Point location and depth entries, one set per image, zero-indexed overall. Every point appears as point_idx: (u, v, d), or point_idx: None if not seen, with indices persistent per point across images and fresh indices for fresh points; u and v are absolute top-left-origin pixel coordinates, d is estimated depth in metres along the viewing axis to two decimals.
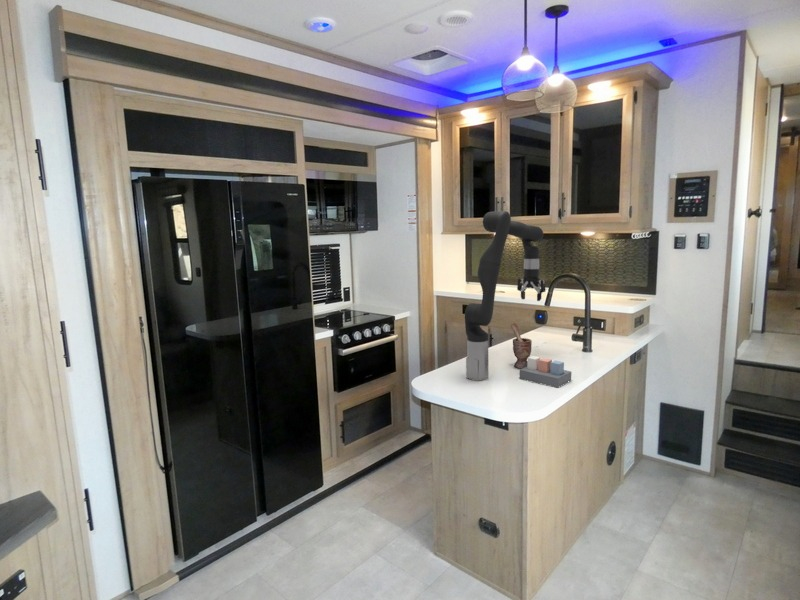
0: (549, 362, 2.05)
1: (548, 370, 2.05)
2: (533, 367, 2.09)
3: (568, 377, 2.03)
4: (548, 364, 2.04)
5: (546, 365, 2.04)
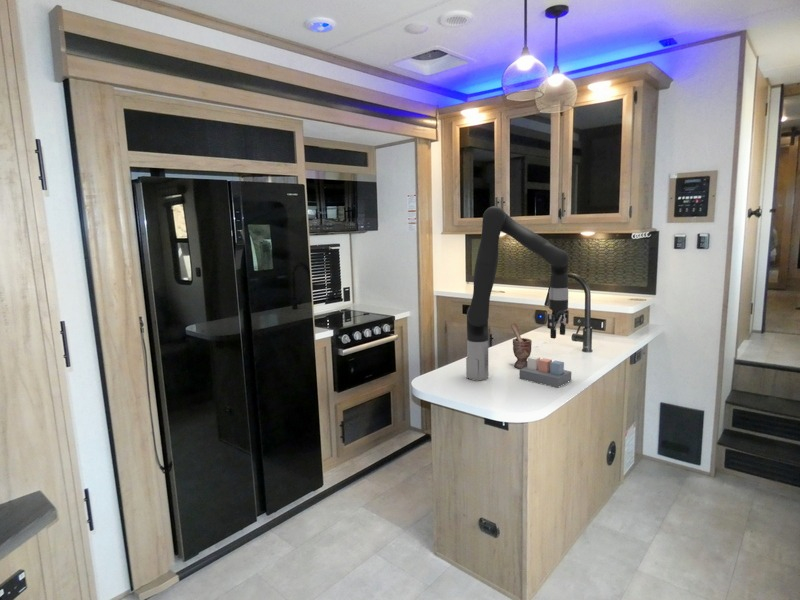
0: (549, 362, 2.05)
1: (548, 370, 2.05)
2: (533, 367, 2.09)
3: (568, 377, 2.03)
4: (548, 364, 2.04)
5: (546, 365, 2.04)
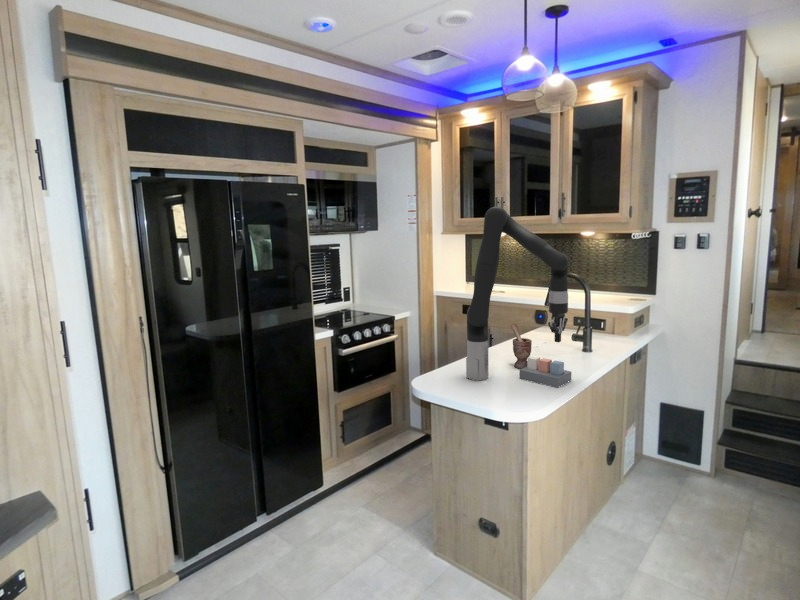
0: (549, 362, 2.05)
1: (548, 370, 2.05)
2: (533, 367, 2.09)
3: (568, 377, 2.03)
4: (548, 364, 2.04)
5: (546, 365, 2.04)
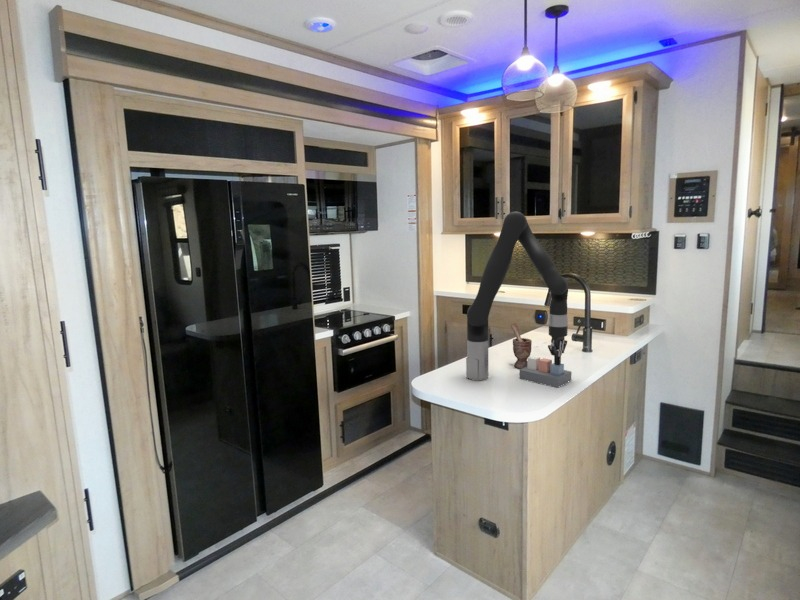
0: (549, 362, 2.05)
1: (548, 370, 2.05)
2: (533, 367, 2.09)
3: (568, 377, 2.03)
4: (548, 364, 2.04)
5: (546, 365, 2.04)
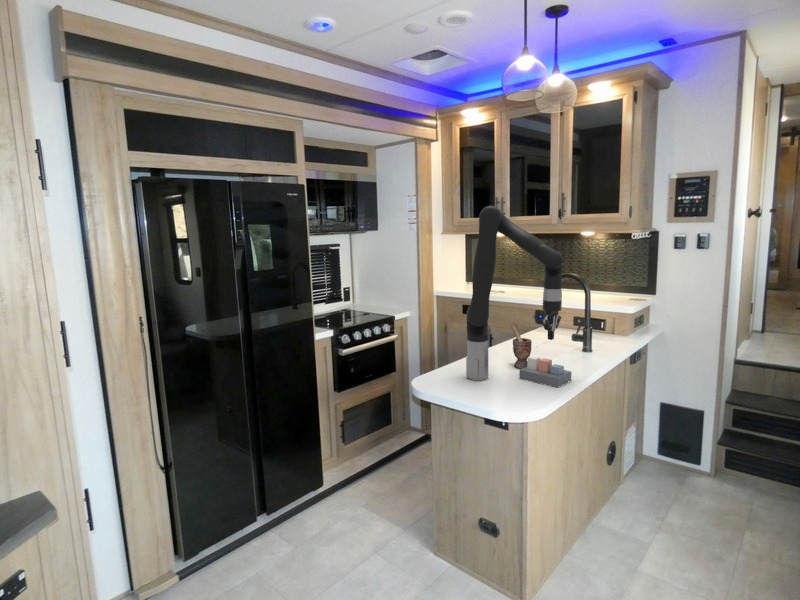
0: (549, 362, 2.05)
1: (548, 370, 2.05)
2: (533, 367, 2.09)
3: (568, 377, 2.03)
4: (548, 364, 2.04)
5: (546, 365, 2.04)
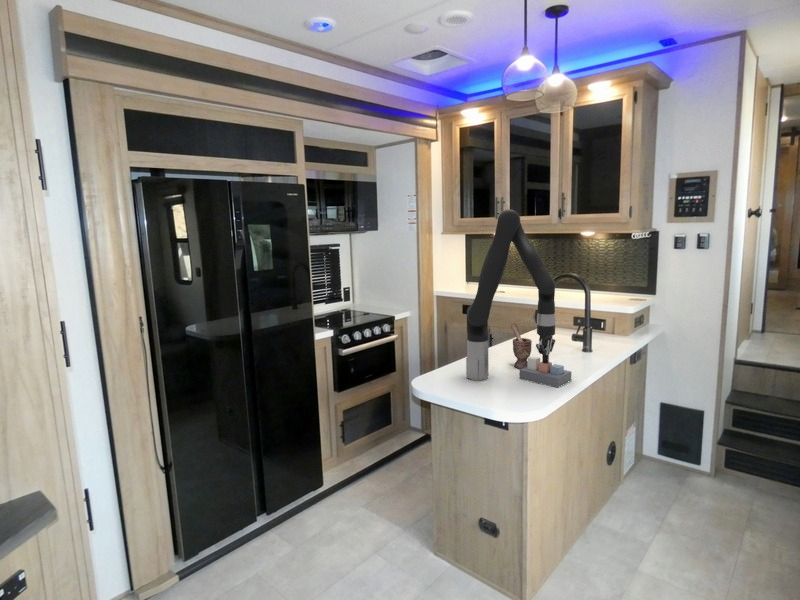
0: (549, 365, 2.05)
1: None
2: (533, 367, 2.09)
3: (568, 377, 2.03)
4: (548, 367, 2.04)
5: (546, 368, 2.04)
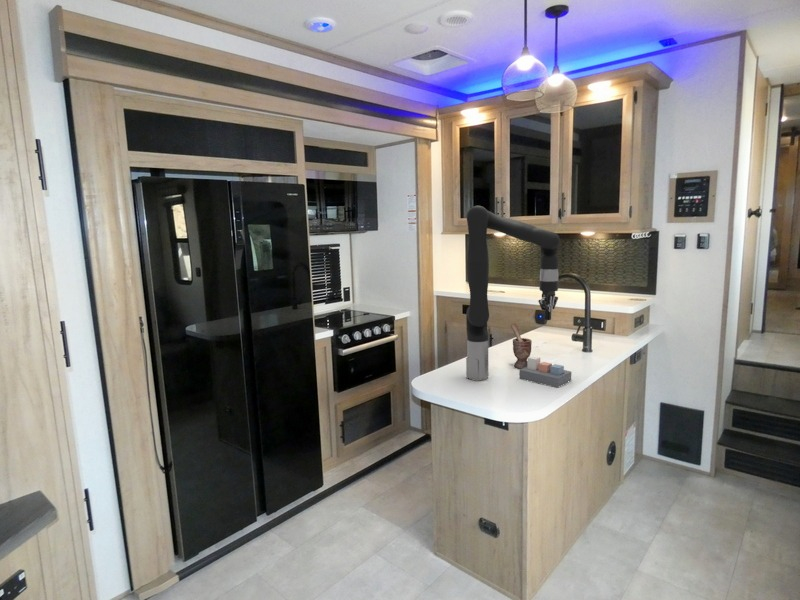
0: (549, 366, 2.05)
1: None
2: (533, 367, 2.09)
3: (568, 377, 2.03)
4: (548, 368, 2.05)
5: (546, 369, 2.04)
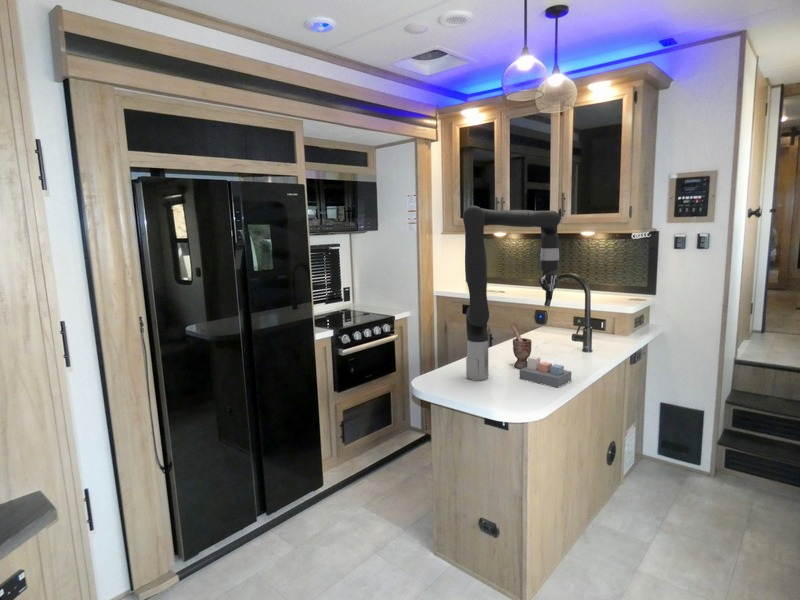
0: (549, 366, 2.05)
1: None
2: (533, 367, 2.09)
3: (568, 377, 2.03)
4: (548, 368, 2.05)
5: (546, 369, 2.04)
